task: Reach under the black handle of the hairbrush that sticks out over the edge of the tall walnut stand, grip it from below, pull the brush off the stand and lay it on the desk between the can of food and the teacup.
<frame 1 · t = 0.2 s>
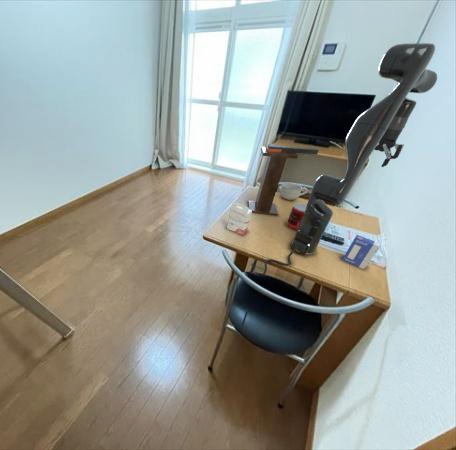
hand: (371, 163, 114), 29 cm above the table, tool pointing down, fingers open, 8 cm apart
canned food: (294, 226, 122), on the table
walnut stand: (261, 208, 136), on the table
teacup: (290, 198, 146), on the table
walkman: (353, 263, 100), on the table
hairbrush: (288, 151, 117), point 32 cm above the table, touching walnut stand
ink cartridge box: (236, 230, 119), on the table
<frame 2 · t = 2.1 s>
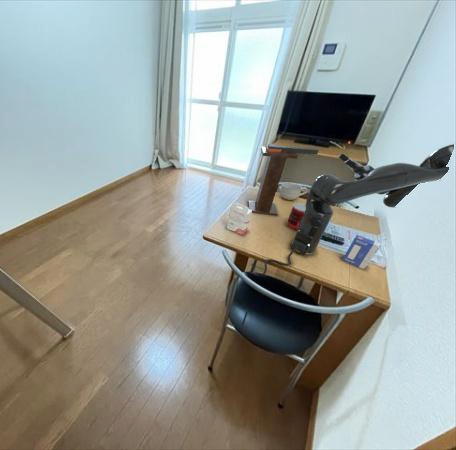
hand: (343, 158, 113), 31 cm above the table, tool pointing upward, fingers open, 8 cm apart
nothing on the table moved.
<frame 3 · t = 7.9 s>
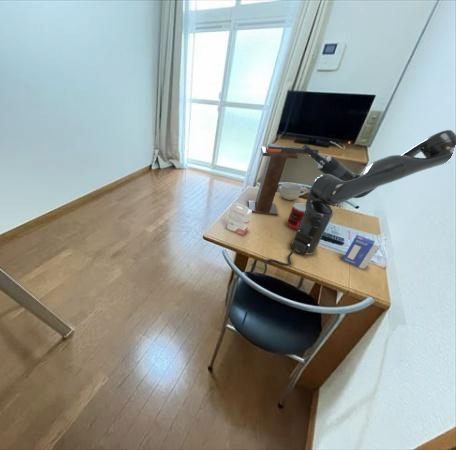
hand: (304, 147, 115), 34 cm above the table, tool pointing upward, fingers closed on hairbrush, 2 cm apart
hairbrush: (288, 151, 117), point 32 cm above the table, touching gripper, walnut stand
everything else where it was.
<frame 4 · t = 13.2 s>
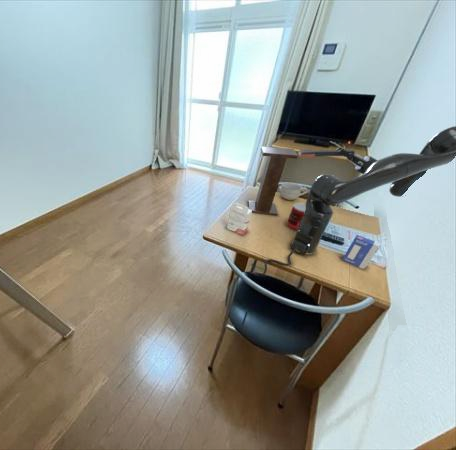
hand: (339, 149, 113), 34 cm above the table, tool pointing upward, fingers closed on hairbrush, 2 cm apart
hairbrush: (322, 155, 116), point 31 cm above the table, tilted 6°, touching gripper
everything else where it was.
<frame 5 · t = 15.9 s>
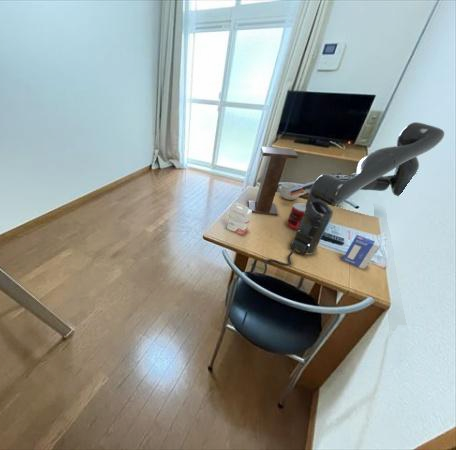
hand: (323, 178, 124), 19 cm above the table, tool horizontal, fingers closed on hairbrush, 2 cm apart
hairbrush: (310, 186, 128), point 14 cm above the table, tilted 30°, touching gripper
everything else where it was.
when the fingers open (10 cm above the table, at t = 18.5 s): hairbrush drops 5 cm, on the table.
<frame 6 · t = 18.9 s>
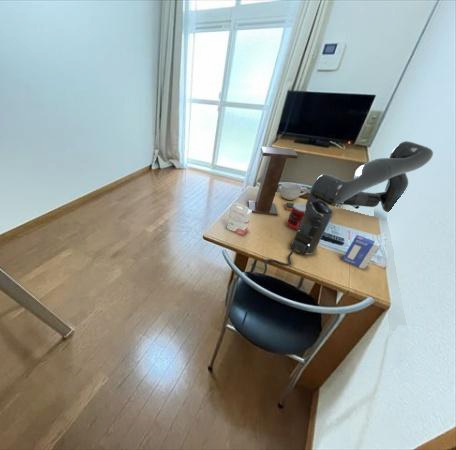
hand: (317, 194, 129), 10 cm above the table, tool horizontal, fingers open, 5 cm apart
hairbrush: (304, 210, 135), on the table
everything else where it was.
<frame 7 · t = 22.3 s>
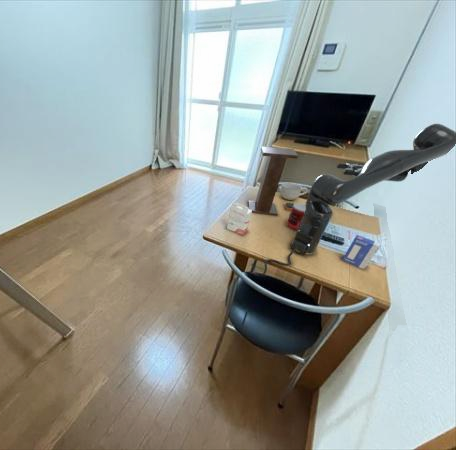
hand: (340, 168, 120), 25 cm above the table, tool horizontal, fingers open, 8 cm apart
nothing on the table moved.
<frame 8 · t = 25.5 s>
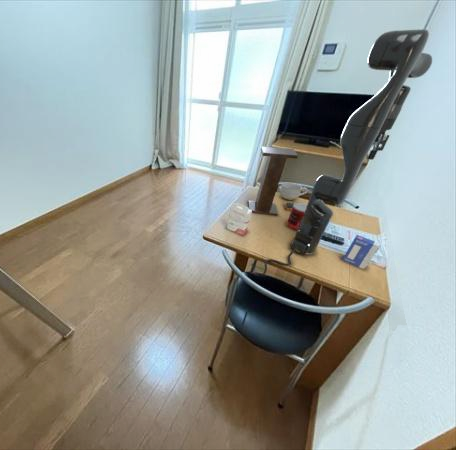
hand: (365, 155, 107), 34 cm above the table, tool pointing down, fingers open, 8 cm apart
nothing on the table moved.
at the end: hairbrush inside the target area (0.4 cm from its centre), on the table; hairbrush touching table; the gripper is holding nothing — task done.
